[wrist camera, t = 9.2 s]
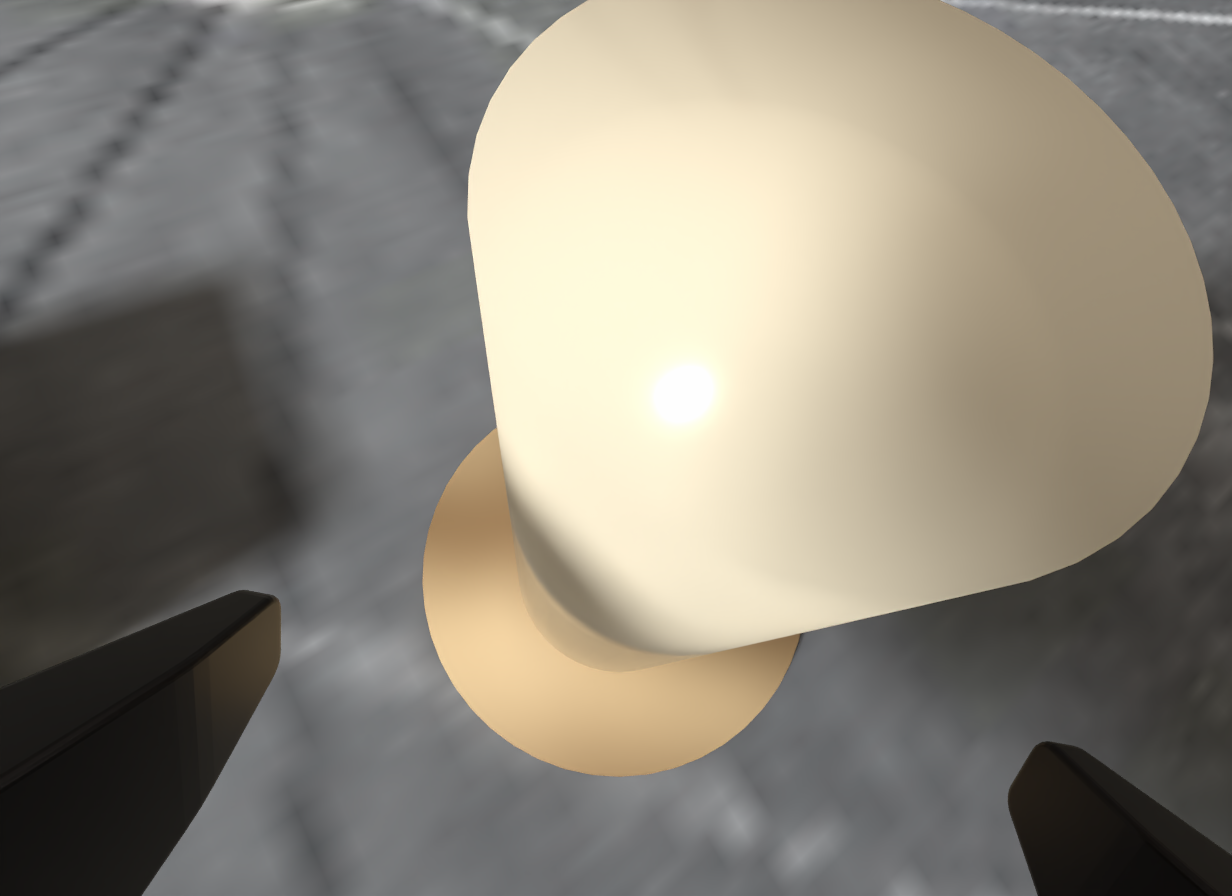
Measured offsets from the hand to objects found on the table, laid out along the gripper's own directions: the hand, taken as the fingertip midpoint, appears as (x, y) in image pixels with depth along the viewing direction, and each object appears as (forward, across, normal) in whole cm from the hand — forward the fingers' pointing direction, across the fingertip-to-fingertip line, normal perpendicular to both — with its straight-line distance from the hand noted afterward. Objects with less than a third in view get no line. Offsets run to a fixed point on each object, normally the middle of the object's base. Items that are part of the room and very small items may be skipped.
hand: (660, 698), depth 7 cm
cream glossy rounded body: (+8, 0, +4) cm, 9 cm away
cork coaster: (+9, 0, +4) cm, 10 cm away
